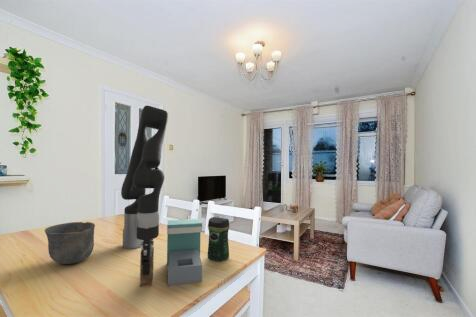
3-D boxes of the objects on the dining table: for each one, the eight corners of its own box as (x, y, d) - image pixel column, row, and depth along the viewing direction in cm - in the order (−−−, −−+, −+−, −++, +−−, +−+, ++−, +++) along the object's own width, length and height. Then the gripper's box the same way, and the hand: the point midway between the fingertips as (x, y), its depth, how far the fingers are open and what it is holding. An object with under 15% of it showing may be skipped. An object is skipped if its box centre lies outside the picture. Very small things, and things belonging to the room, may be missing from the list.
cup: (36, 275, 87) (38, 235, 87) (49, 257, 102) (50, 224, 103) (92, 266, 95) (93, 229, 95) (96, 251, 111) (96, 220, 111)
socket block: (168, 285, 81) (168, 268, 81) (169, 265, 97) (169, 251, 97) (201, 281, 84) (202, 265, 84) (197, 262, 100) (198, 248, 100)
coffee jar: (231, 257, 106) (232, 217, 106) (222, 264, 99) (223, 221, 99) (214, 253, 110) (215, 214, 111) (204, 259, 104) (205, 218, 104)
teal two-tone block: (166, 271, 92) (167, 225, 92) (167, 263, 99) (167, 220, 99) (201, 267, 95) (202, 223, 95) (199, 260, 102) (200, 218, 103)
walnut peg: (139, 286, 80) (140, 252, 80) (141, 280, 84) (142, 248, 84) (151, 285, 81) (152, 251, 81) (153, 279, 85) (153, 247, 85)
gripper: (139, 219, 89) (138, 264, 88) (133, 230, 75) (132, 283, 75) (160, 218, 91) (159, 262, 90) (157, 229, 77) (156, 280, 77)
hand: (146, 271), depth 83 cm, fingers closed on walnut peg, 4 cm apart
